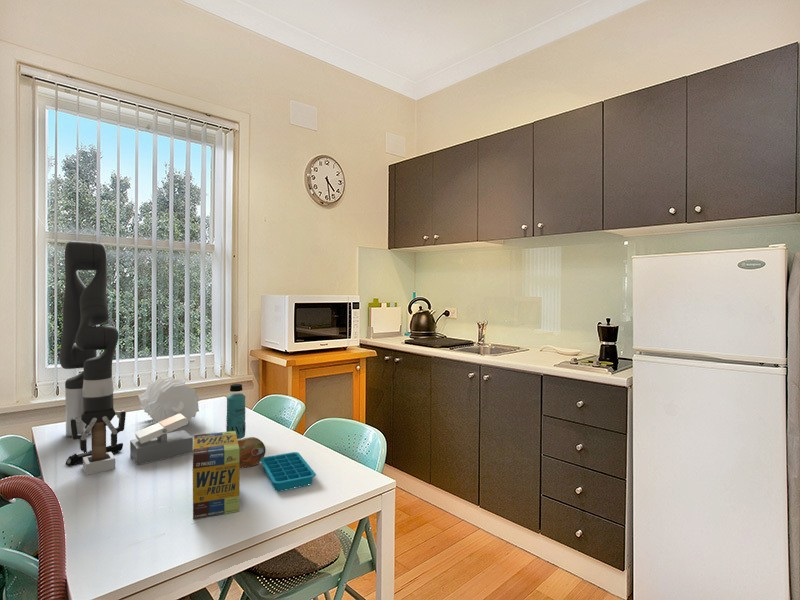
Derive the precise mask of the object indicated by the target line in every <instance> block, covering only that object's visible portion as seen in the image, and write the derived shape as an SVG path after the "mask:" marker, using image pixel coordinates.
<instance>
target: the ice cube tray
mask: <svg viewBox="0 0 800 600" xmlns="http://www.w3.org/2000/svg"><path fill="white" fill-rule="evenodd" d="M260 461H261V462H260V463H261V465H262V466H263V470H264V472H265V474H266V473H267V474H266V475H268V476H267V478H268V477H269V478H268V479H269V482H270V483H271V485H272V487H273V489H274V488H275V489H274V490H275V491H276V490H277V491H276V492H282V491H281V490H283V491H286V490H285V489H288V490H291V489H290V488H293V489H295V488H294V487H298V488H300V487H299V486H303V487H305V486H304V485H308V484H311V483H312V484H313V479H314V478H315V477H316V476H317V474H316V472H315V471H314V470H313V469H312V467H311V466H310V465H309V464H308V462H307V460H305V459H304V457H303V456H302V455H301V454H300V453H299V452H297V451H293V452H287V453H282V454H281V453H280V454H274V455H270V456H269V455H268V456H264V457H263V458H261V459H260ZM312 484H311V485H312ZM308 486H309V485H308Z"/></svg>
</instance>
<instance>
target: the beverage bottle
mask: <svg viewBox="0 0 800 600" xmlns="http://www.w3.org/2000/svg"><path fill="white" fill-rule="evenodd" d="M242 391H243V384H242V383H232V384H230V387H229V392H232V393H230V394H229V395H228V396H226V419H225V421H226V428H225V431H226V432H229V431H236V435H237V439H243V438H246V429H247V428H246V427H247V425H246V395H245V394H243V393H242Z"/></svg>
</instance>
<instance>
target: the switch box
mask: <svg viewBox="0 0 800 600" xmlns="http://www.w3.org/2000/svg"><path fill="white" fill-rule="evenodd" d="M129 443H130V445H129V446H130V447H129V448H130V449H129V450H130V453H129V455H130V457H131V459H132V460H133V462H134V463H135V464H136V465H137V466H139V465H144V464H149V463H153V462H158V461H161V460H165V459H166V458H167V459H171V458H174V457H179V456H184V455H188V454H193V443H194V436H192V435H191V434H189V433H188V432H187V431H186V430H185V429H181V430H177V431H170V432H168V433H166V434H163V435H161V436H159V437H156V438H154V439H152V440H150V441H147V442H145V443H143V444H141V443H140V442H139V440H138V439H137V438H135V439H130V440H129Z"/></svg>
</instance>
